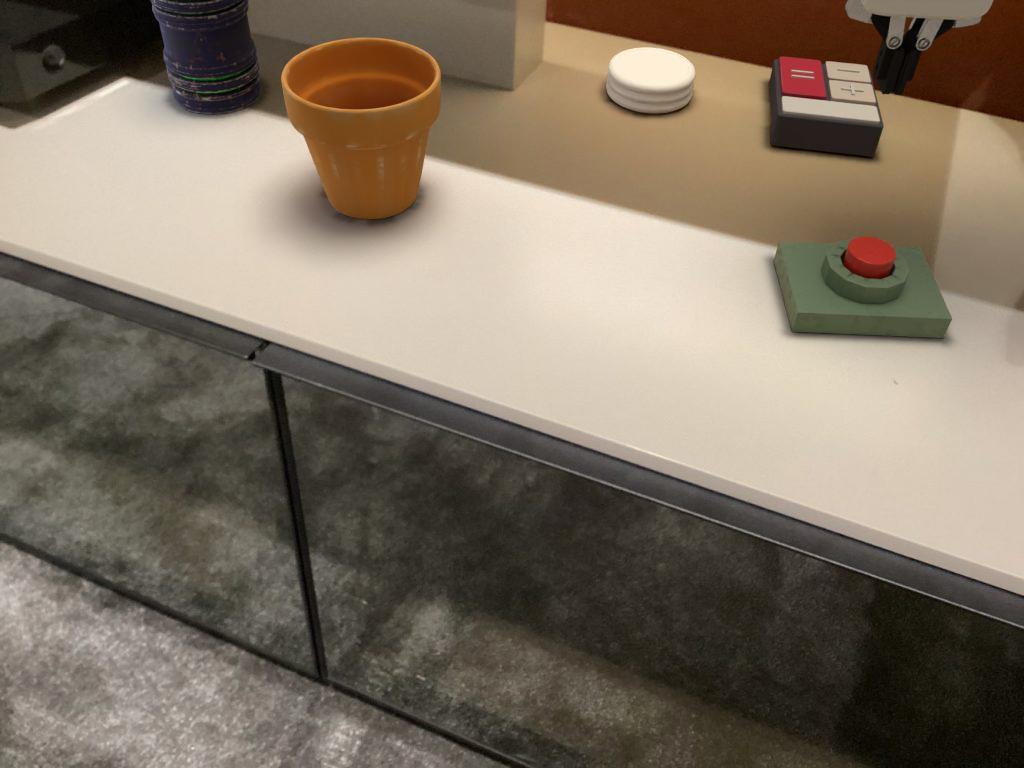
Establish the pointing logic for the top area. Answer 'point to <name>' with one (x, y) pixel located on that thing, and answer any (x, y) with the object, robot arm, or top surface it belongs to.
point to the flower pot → (365, 119)
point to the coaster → (650, 80)
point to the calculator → (824, 106)
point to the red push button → (869, 257)
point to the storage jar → (209, 54)
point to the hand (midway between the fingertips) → (888, 86)
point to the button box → (859, 293)
